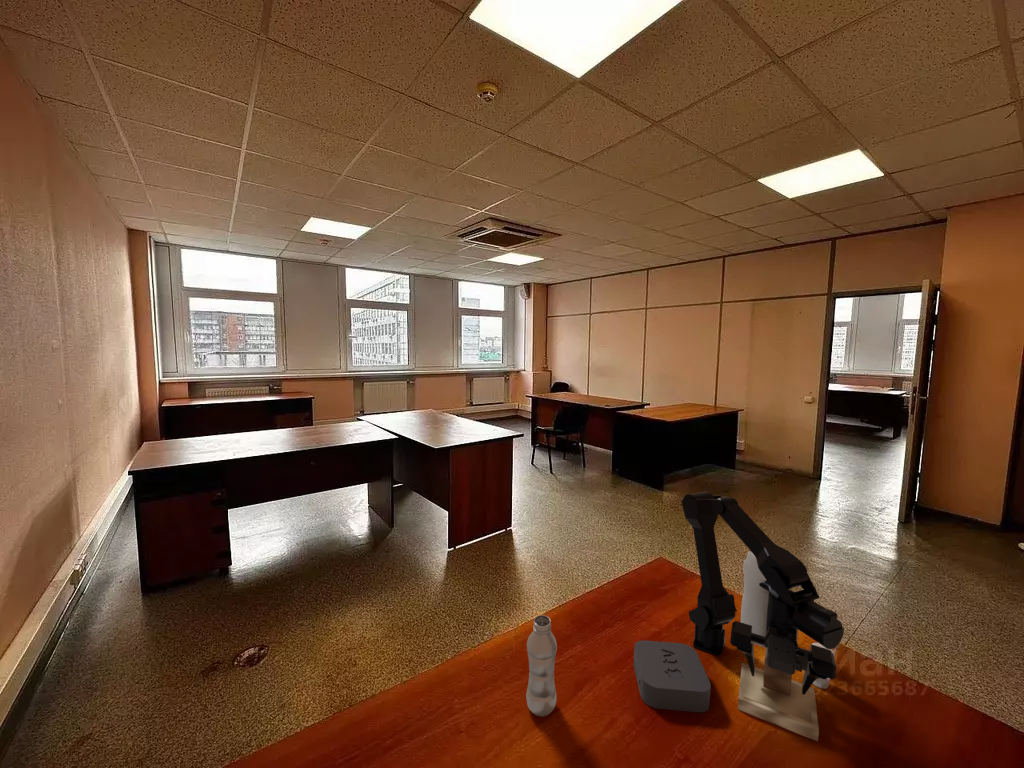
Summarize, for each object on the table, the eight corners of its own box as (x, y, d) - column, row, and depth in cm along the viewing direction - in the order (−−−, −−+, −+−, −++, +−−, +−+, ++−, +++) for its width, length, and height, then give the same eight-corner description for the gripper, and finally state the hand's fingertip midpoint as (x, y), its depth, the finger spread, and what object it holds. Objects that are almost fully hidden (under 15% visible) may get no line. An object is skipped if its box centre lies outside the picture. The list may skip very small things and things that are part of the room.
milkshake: (840, 693, 95) (843, 652, 94) (813, 689, 96) (816, 648, 95) (829, 677, 99) (832, 638, 98) (803, 674, 100) (807, 634, 99)
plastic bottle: (559, 699, 93) (560, 614, 91) (552, 725, 87) (553, 634, 85) (531, 691, 95) (532, 607, 93) (522, 716, 89) (522, 627, 87)
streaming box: (713, 715, 90) (714, 692, 89) (643, 708, 91) (644, 686, 91) (691, 663, 104) (693, 644, 103) (631, 658, 105) (632, 639, 105)
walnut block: (763, 686, 93) (765, 661, 93) (763, 671, 98) (765, 647, 97) (790, 696, 91) (792, 670, 90) (789, 680, 95) (791, 656, 95)
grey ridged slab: (775, 647, 109) (781, 566, 107) (760, 648, 109) (766, 567, 107) (747, 620, 120) (751, 546, 118) (733, 621, 119) (738, 547, 117)
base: (737, 709, 91) (738, 697, 91) (741, 672, 101) (742, 661, 101) (817, 741, 84) (818, 729, 83) (813, 698, 94) (813, 687, 93)
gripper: (730, 622, 88) (725, 691, 90) (842, 657, 78) (835, 734, 80) (734, 595, 98) (730, 658, 99) (835, 623, 88) (829, 692, 90)
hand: (777, 684), depth 92 cm, fingers open, 9 cm apart
